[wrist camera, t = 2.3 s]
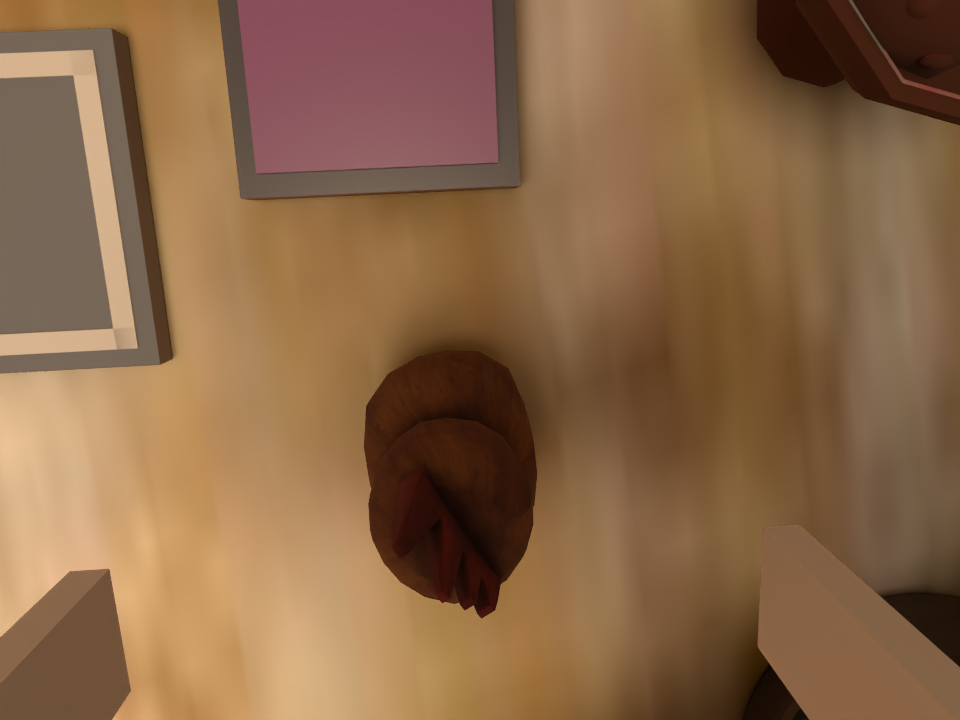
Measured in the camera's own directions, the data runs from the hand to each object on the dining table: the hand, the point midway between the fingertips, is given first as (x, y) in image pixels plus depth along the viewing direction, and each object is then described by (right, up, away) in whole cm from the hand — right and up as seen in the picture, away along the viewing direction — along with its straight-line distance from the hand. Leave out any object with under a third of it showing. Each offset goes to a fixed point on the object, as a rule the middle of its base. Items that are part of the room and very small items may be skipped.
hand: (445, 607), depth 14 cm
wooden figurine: (0, +3, +15) cm, 15 cm away
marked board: (-18, +11, +12) cm, 24 cm away
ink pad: (-3, +16, +12) cm, 20 cm away
